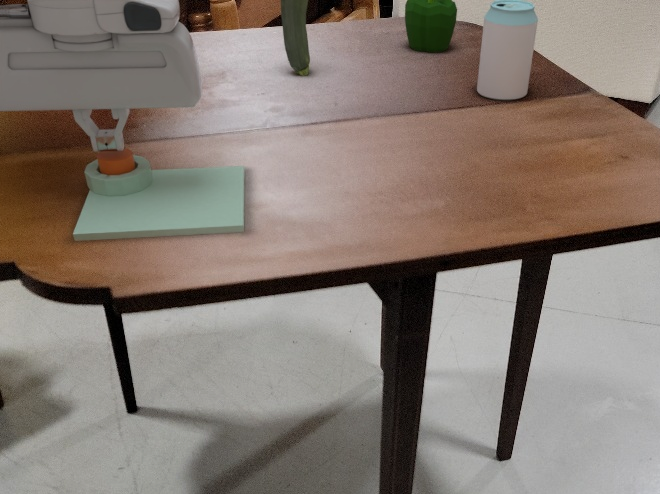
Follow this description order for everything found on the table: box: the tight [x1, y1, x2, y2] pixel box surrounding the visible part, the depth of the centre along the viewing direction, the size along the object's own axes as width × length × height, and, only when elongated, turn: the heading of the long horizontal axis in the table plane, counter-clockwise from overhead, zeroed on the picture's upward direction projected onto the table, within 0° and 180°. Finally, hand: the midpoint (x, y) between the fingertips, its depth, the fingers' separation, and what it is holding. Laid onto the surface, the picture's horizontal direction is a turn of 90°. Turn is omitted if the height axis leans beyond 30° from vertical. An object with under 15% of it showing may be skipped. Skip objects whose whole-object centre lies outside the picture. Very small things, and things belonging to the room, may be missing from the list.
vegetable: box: [280, 0, 311, 77], centre depth 104 cm, size 4×4×20 cm
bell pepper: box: [404, 0, 458, 54], centre depth 118 cm, size 8×8×10 cm
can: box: [476, 0, 539, 101], centre depth 100 cm, size 7×7×12 cm
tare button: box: [96, 147, 136, 175], centre depth 76 cm, size 4×4×2 cm
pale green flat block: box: [72, 154, 246, 242], centre depth 75 cm, size 16×14×3 cm
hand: (109, 149), depth 75 cm, fingers closed
